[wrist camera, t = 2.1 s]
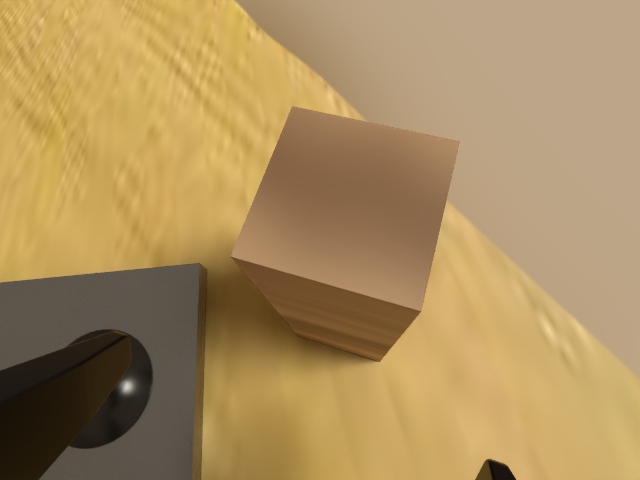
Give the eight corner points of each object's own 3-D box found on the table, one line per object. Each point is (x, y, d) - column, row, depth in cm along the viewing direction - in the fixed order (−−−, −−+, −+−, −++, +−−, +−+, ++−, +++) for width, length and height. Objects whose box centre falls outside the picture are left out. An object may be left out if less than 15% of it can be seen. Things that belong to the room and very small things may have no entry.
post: (379, 361, 21) (421, 311, 9) (297, 335, 21) (230, 256, 9) (399, 281, 22) (459, 141, 10) (322, 259, 23) (292, 106, 11)
